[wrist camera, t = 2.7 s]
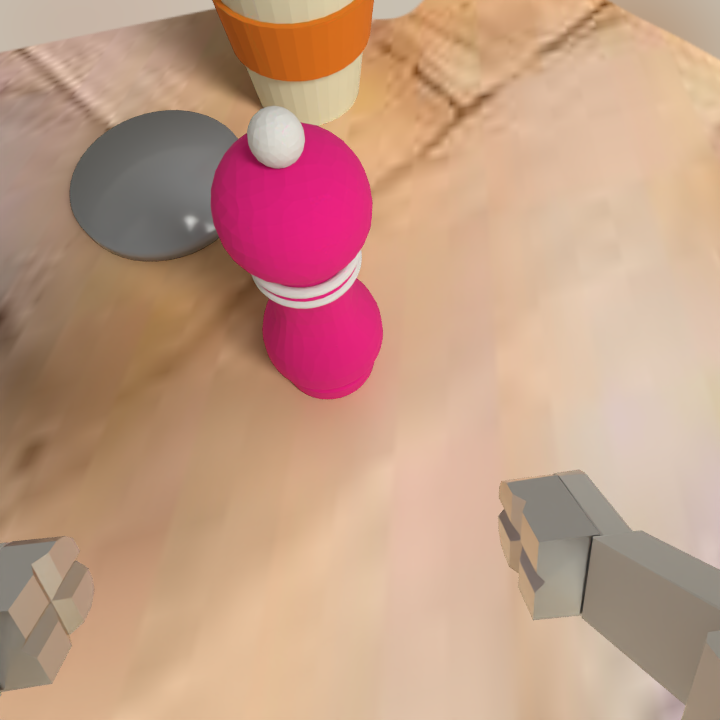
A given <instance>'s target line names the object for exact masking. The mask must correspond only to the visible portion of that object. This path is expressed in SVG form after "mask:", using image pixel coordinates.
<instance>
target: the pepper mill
mask: <svg viewBox="0 0 720 720" xmlns="http://www.w3.org/2000/svg"><path fill="white" fill-rule="evenodd" d="M211 212H212V218H213V223H214V226H215V229H216V231H217V233H218V236H219V238H220V240H221V242H222V245H223V247H224V248H225V250H226V251H227V252H228V254H229V255H230V256H231V258H232V259H233V260H234V261H235V262H236V263H237V264H238V265H240V266H241V267H242V268H243V269H245V270H246V271H247V272H248V273H250V274H251V275H252V278H253V280H254V282H255V284H256V285H257V287H258V288H259V290H260V291H261V292H262V293H263V294H264V295H265V296H267V297H268V298H269V300H268V303H267V305H266V309H265V313H264V319H263V328H262V331H263V340H264V343H265V347H266V350H267V353H268V356H269V358H270V360H271V362H272V363H273V365H274V366H275V367H276V369H277V370H278V371H279V372H280V373H281V374H282V375H283V376H284V377H286V378H287V379H289V380H290V381H291V382H292V383H293V384H294V385H295V386H296V387H297V388H298V389H299V390H301V391H302V392H304V393H305V394H307V395H309V396H312V397H315V398H319V399H336V398H341V397H344V396H347V395H349V394H351V393H353V392H354V391H356V390H357V389H358V388H360V387H361V386H362V385H363V384H364V382H365V381H366V380H367V378H368V377H369V376H370V373H371V371H372V368H373V365H374V361H375V359H376V358H377V356H378V353H379V351H380V348H381V344H382V339H383V328H382V321H381V316H380V311H379V308H378V306H377V303H376V301H375V300H374V298H373V296H372V295H371V293H370V292H369V290H368V289H367V288H366V286H365V285H364V284H363V283H362V282H361V281H359V280H358V279H357V276H358V273H359V270H360V267H361V260H362V255H361V248H362V246H363V245H364V243H365V240H366V238H367V235H368V233H369V230H370V227H371V219H372V196H371V191H370V185H369V182H368V179H367V176H366V173H365V170H364V168H363V166H362V164H361V162H360V160H359V159H358V157H357V156H356V155H355V154H354V152H353V151H352V150H351V149H350V148H349V147H348V146H347V145H346V144H345V143H344V141H343V140H341V139H340V138H338V137H337V136H336V135H334V134H333V133H331V132H330V131H328V130H325V129H323V128H321V127H319V126H316V125H312V124H307V123H302V122H300V121H299V120H298V119H297V117H296V116H295V115H294V114H293V113H292V112H290V111H289V110H287V109H285V108H283V107H279V106H268V107H265V108H263V109H260V110H259V111H258V112H257V113H256V114H255V115H254V116H253V117H252V119H251V121H250V123H249V125H248V130H247V133H246V134H245V135H243V136H242V137H241V138H239V139H238V140H237V141H236V142H234V143H233V144H232V146H231V147H230V148H229V149H228V150H227V151H226V153H225V154H224V156H223V158H222V159H221V161H220V163H219V165H218V167H217V169H216V171H215V175H214V179H213V183H212V187H211Z"/></svg>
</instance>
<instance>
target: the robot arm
mask: <svg viewBox="0 0 720 720" xmlns="http://www.w3.org/2000/svg"><path fill="white" fill-rule="evenodd" d="M499 499H500V501H501V503H502V505H503V507H504V510H503V511H502V512H501V513H500V515H499V516H498V525H499V535H500V542H501V546H502V549H503V552H504V556H505V558H506V560H507V563H508V565H509V567H510V568H512V569H513V570H515V571H516V572H517V573H519V582H518V588H519V590H520V592H521V594H522V597H523V599H524V601H525V603H526V606H527V608H528V610H529V612H530V614H531V617H532V619H533V620H540V619H549V618H559V617H569V616H579V615H582V618H583V619H584V620H585V621H586V622H587V623H588V624H590V625H591V626H592V627H593V628H594V629H596V630H597V631H598V632H599V633H600V634H601V635H603V636H604V637H605V638H606V639H607V640H609V641H610V642H611V643H612V644H613V645H615V646H616V647H617V648H618V649H619V650H620V651H622V652H623V653H624V654H625V655H626V656H628V657H629V658H630V659H631V660H632V661H633V662H635V663H636V664H637V665H638V666H639V667H641V668H642V669H643V670H644V671H645V672H647V673H648V674H649V675H650V676H651V677H652V678H654V679H655V680H656V681H657V682H658V683H660V684H661V685H662V686H663V687H664V688H666V689H667V690H668V691H669V692H670V693H671V694H673V695H674V696H675V697H676V698H677V699H679V700H680V701H681V702H682V703H683V704H684V705H686V706H685V709H684V712H683V716H682V719H681V720H720V570H719V569H717V568H715V567H713V566H711V565H709V564H707V563H705V562H703V561H701V560H699V559H697V558H695V557H693V556H691V555H689V554H687V553H685V552H683V551H681V550H679V549H677V548H675V547H673V546H671V545H669V544H667V543H665V542H663V541H661V540H659V539H657V538H655V537H653V536H651V535H649V534H647V533H645V532H643V531H632V530H631V528H630V527H629V526H628V525H627V524H626V522H625V521H624V520H623V519H622V517H621V516H620V515H619V514H618V513H617V511H616V510H615V509H614V508H613V506H612V505H611V504H610V503H609V502H608V500H607V499H606V498H605V497H604V495H603V494H602V493H601V492H600V491H599V489H598V488H597V487H596V486H595V484H594V483H593V482H592V481H591V480H590V478H589V477H588V476H587V475H586V473H585V472H583V471H581V470H574V471H567V472H561V473H554V474H553V475H543V476H535V477H528V478H520V479H513V480H505V481H501V484H500V487H499ZM79 552H80V550H79V548H78V546H77V545H76V543H75V541H74V539H73V538H71V537H66V536H62V537H52V538H42V539H32V540H23V541H13V542H10V543H0V696H1V692H3V691H10V690H16V689H22V688H28V687H34V686H40V685H47V684H52V683H53V681H54V679H55V677H56V675H57V673H58V671H59V670H60V668H61V666H62V664H63V662H64V660H65V658H66V656H67V654H68V652H69V650H70V648H71V646H72V644H71V640H70V634H71V633H72V632H73V631H74V630H75V629H77V628H78V627H79V626H80V625H81V624H82V623H83V622H84V621H85V619H86V617H87V615H88V613H89V611H90V609H91V606H92V600H93V594H94V585H93V578H92V576H91V573H90V571H89V569H88V568H87V567H85V566H84V565H82V564H81V563H79V562H77V561H76V559H77V557H78V554H79Z"/></svg>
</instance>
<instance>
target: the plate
mask: <svg viewBox="0 0 720 720" xmlns="http://www.w3.org/2000/svg"><path fill="white" fill-rule="evenodd" d="M237 140H238V138H237V137H236V136H235V135H234V133H233V132H232V131H231V130H230V129H228V128H227V127H226V126H225V125H223V124H222V123H220V122H219V121H217V120H215V119H213V118H211V117H209V116H206V115H203V114H199V113H195V112H190V111H181V110H166V111H157V112H152V113H147V114H143V115H140V116H137V117H134V118H131V119H129V120H127V121H124V122H122V123H120V124H118V125H117V126H115V127H113V128H112V129H110V130H109V131H107V132H105V133H104V134H103V135H102V136H101V137H99V138H98V139H97V140H96V141H95V142H94V143H93V144H92V145H91V146H90V147H89V148H88V149H87V151H86V152H85V153H84V154H83V156H82V157H81V159H80V161H79V162H78V164H77V166H76V168H75V170H74V173H73V176H72V180H71V185H70V203H71V207H72V211H73V213H74V216H75V218H76V220H77V221H78V223H79V224H80V226H81V227H82V228H83V229H84V230H85V231H86V232H87V234H88V235H89V236H90V237H91V238H92V239H93V240H94V241H95V242H96V243H97V244H99V245H100V246H101V247H102V248H104V249H105V250H107V251H109V252H111V253H112V254H115V255H118V256H120V257H123V258H127V259H131V260H137V261H164V260H171V259H175V258H180V257H183V256H186V255H189V254H192V253H194V252H196V251H198V250H200V249H203V248H204V247H206V246H208V245H209V244H211V243H213V242H214V241H215V240H217V239H218V238H219V236H218V233H217V231H216V229H215V226H214V223H213V218H212V212H211V187H212V183H213V179H214V175H215V171H216V169H217V167H218V165H219V163H220V161H221V159H222V158H223V156H224V154H225V153H226V151H227V150H228V149H229V148H230V147H231V146H232V144H233V143H234V142H236V141H237Z"/></svg>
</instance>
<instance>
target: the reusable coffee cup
mask: <svg viewBox="0 0 720 720" xmlns="http://www.w3.org/2000/svg"><path fill="white" fill-rule="evenodd" d="M212 1H213V3H214V5H215V8H216V10H217V13H218V15H219V17H220V20H221V22H222V24H223V27H224V29H225V31H226V34H227V36H228V38H229V41H230V43H231V45H232V48H233V50H234V53H235V55H236V56H237V57H238V59H239V60H240V61H241V62H242V63H243V64H244V65H245V66H246V68H247V70H248V73H249V75H250V77H251V80H252V82H253V85H254V87H255V90H256V92H257V94H258V97H259V99H260V102H261V104H262V106H263V108H265V107H268V106H279V107H283V108H285V109H287V110H289V111H290V112H292V113H293V114H294V115H295V116H296V117H297V119H298V120H299V121H300V122H302V123H307V124H312V125H316V126H317V125H322V124H325V123H328V122H331V121H333V120H335V119H337V118H339V117H340V116H342V115H343V114H345V113H346V112H347V111H348V110H349V109H350V108H351V107H352V105H353V104H354V102H355V100H356V98H357V95H358V92H359V82H360V73H361V63H362V54H363V50H364V48H365V47H366V45H367V42H368V39H369V36H370V29H371V20H372V12H373V3H374V0H212Z"/></svg>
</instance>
